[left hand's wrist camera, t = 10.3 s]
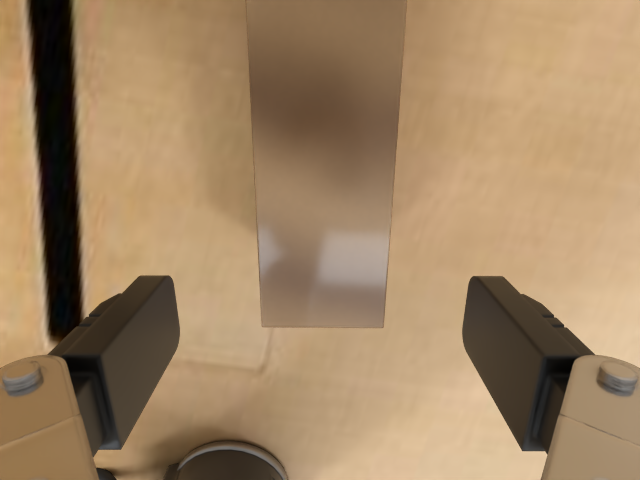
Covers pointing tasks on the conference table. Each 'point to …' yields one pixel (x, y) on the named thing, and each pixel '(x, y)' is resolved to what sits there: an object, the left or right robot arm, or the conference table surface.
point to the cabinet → (324, 156)
